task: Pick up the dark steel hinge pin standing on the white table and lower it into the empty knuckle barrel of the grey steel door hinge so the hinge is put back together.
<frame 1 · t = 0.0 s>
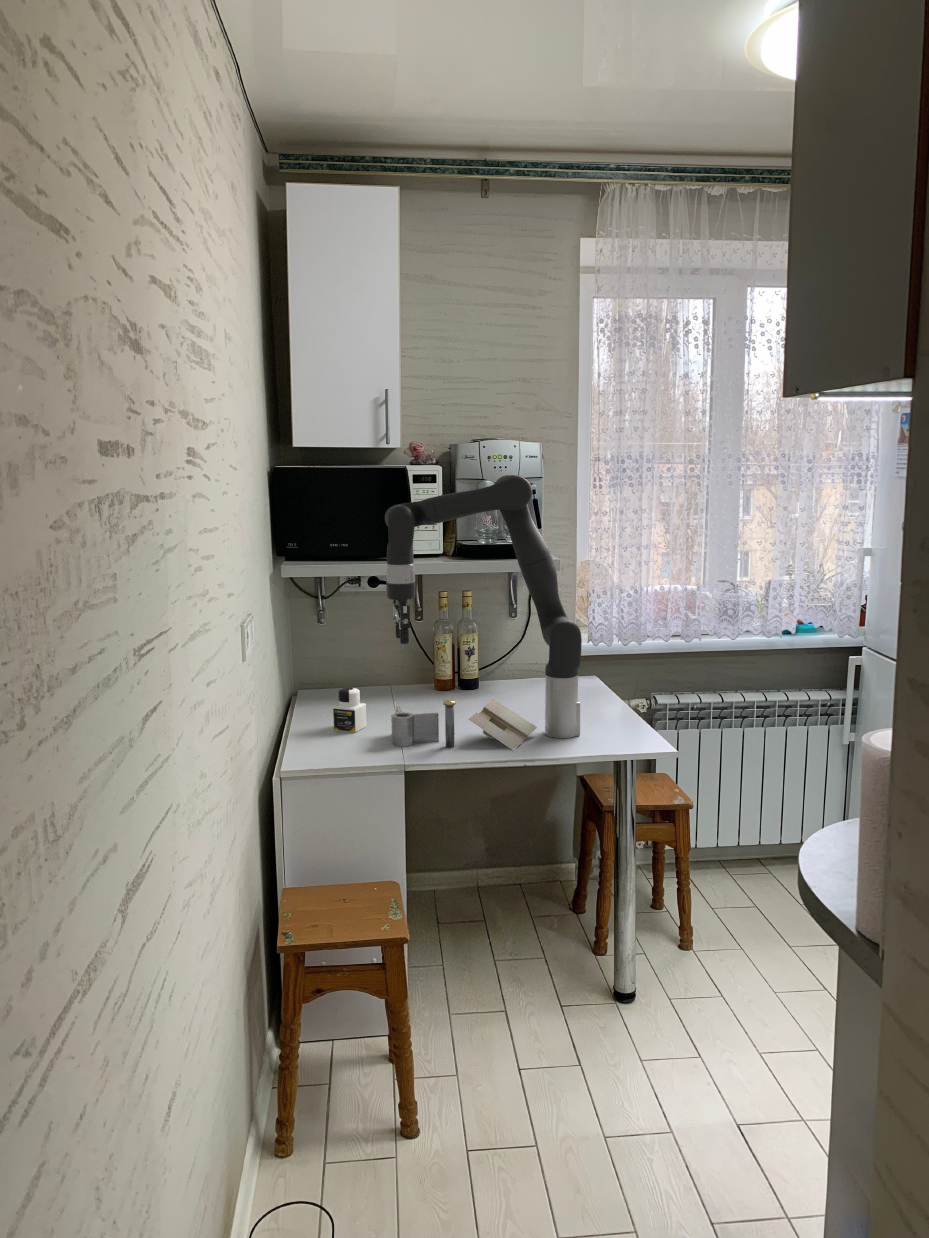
hand: (402, 640, 246), 29 cm above the table, tool pointing down, fingers open, 8 cm apart
hinge: (403, 743, 252), on the table
beige folded piece: (504, 740, 255), on the table
pin: (450, 746, 249), on the table
medicine bottle: (350, 729, 267), on the table
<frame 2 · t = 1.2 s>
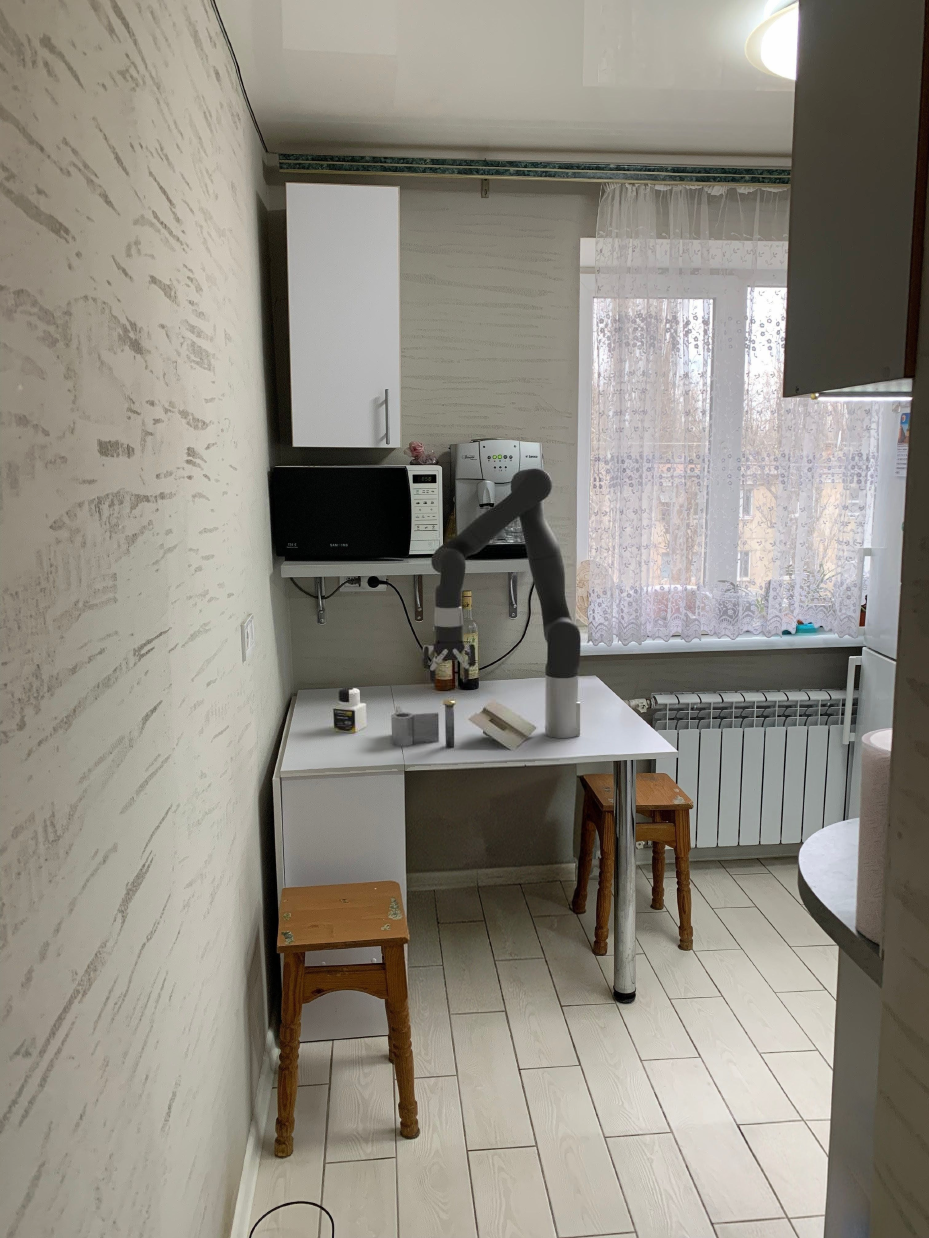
hand: (449, 682, 246), 18 cm above the table, tool pointing down, fingers open, 8 cm apart
nothing on the table moved.
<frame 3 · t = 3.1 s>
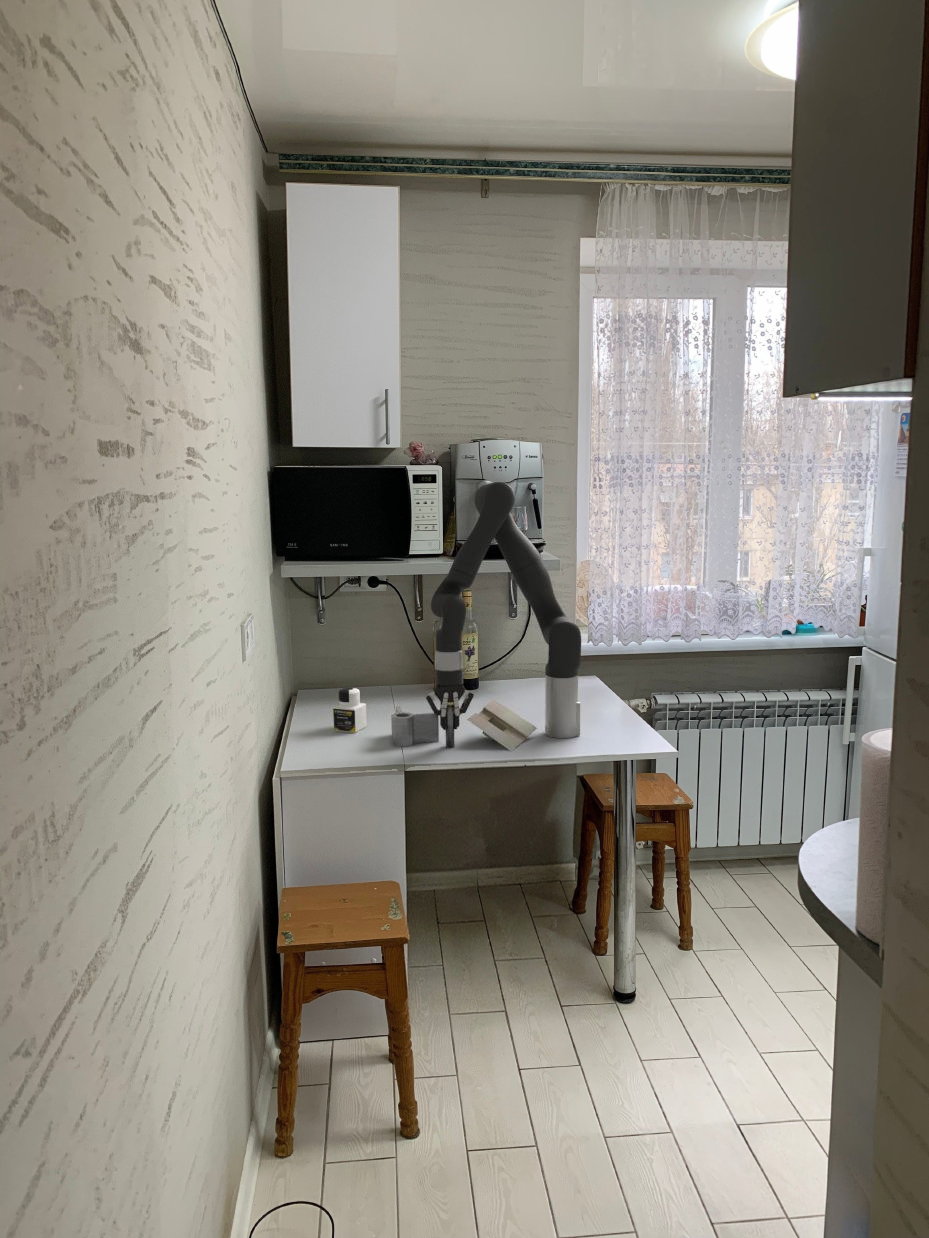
hand: (449, 728, 248), 5 cm above the table, tool pointing down, fingers closed on pin, 2 cm apart
pin: (450, 746, 249), on the table, touching gripper
everything else where it was.
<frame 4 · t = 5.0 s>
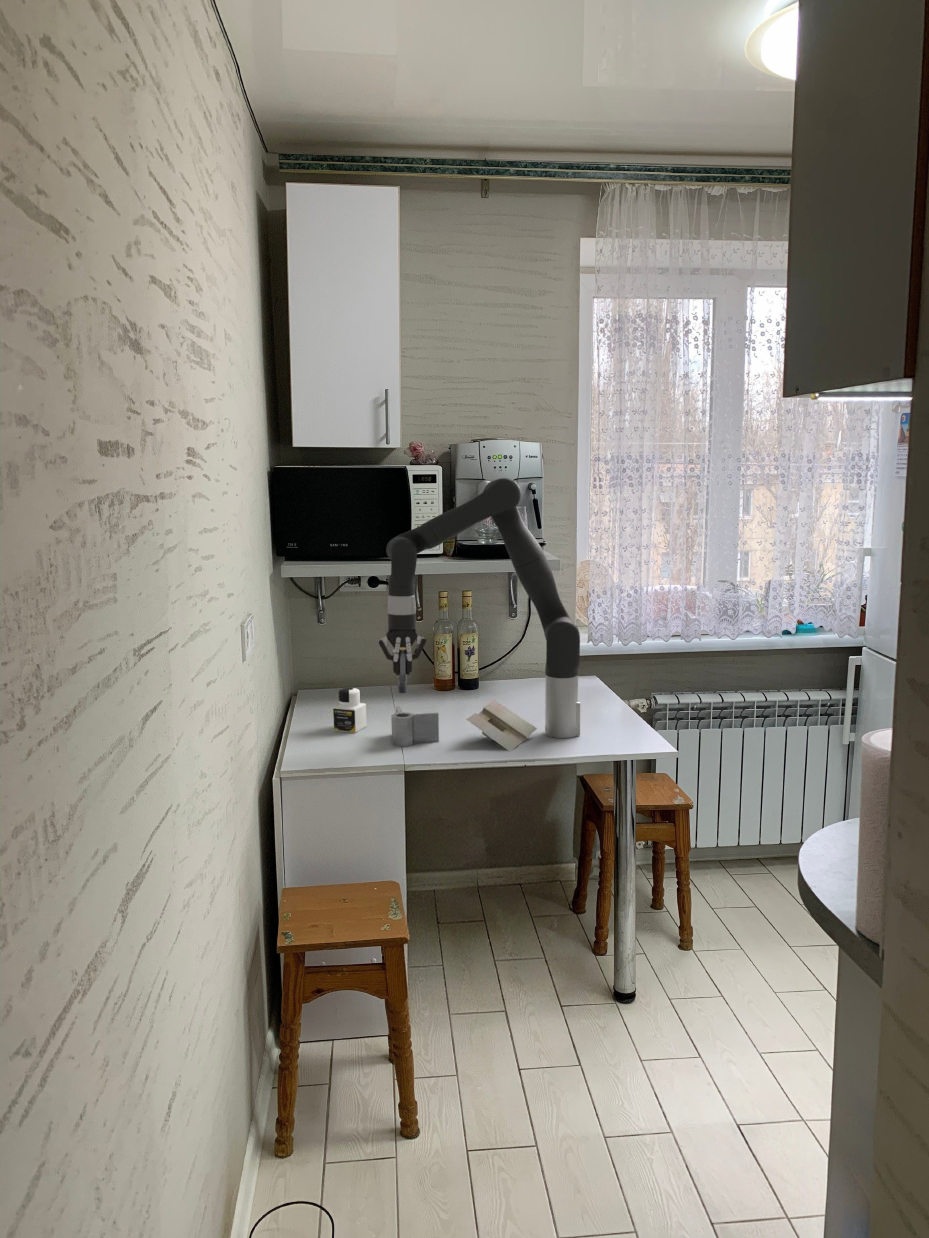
hand: (402, 673, 249), 20 cm above the table, tool pointing down, fingers closed on pin, 2 cm apart
pin: (402, 692, 250), point 15 cm above the table, touching gripper
everything else where it was.
when the fingers open (9 cm above the table, at t = 7.1 s): pin drops 4 cm, resting in hinge.
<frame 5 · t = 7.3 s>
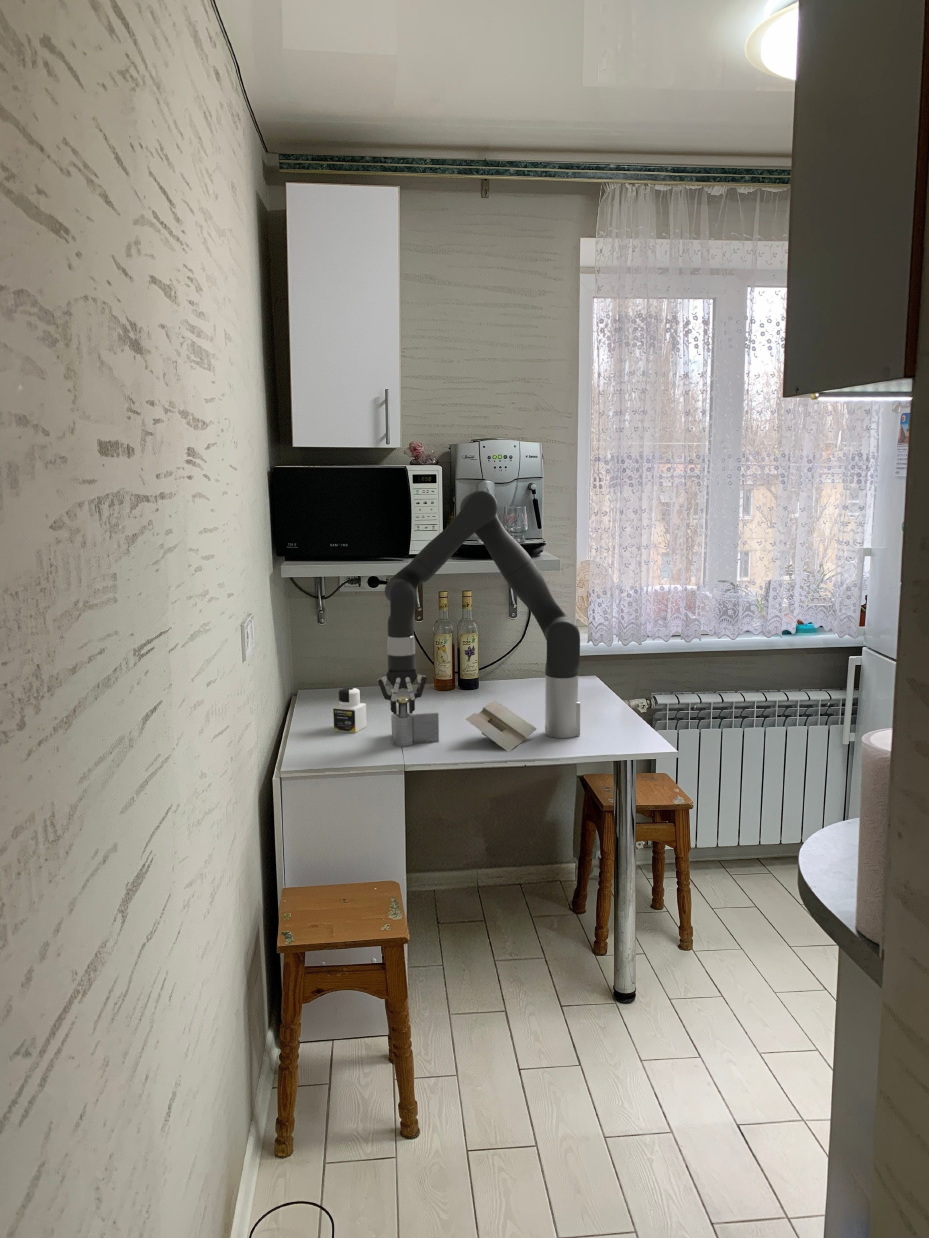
hand: (402, 712, 251), 9 cm above the table, tool pointing down, fingers open, 4 cm apart
pin: (403, 743, 253), resting in hinge
everything else where it was.
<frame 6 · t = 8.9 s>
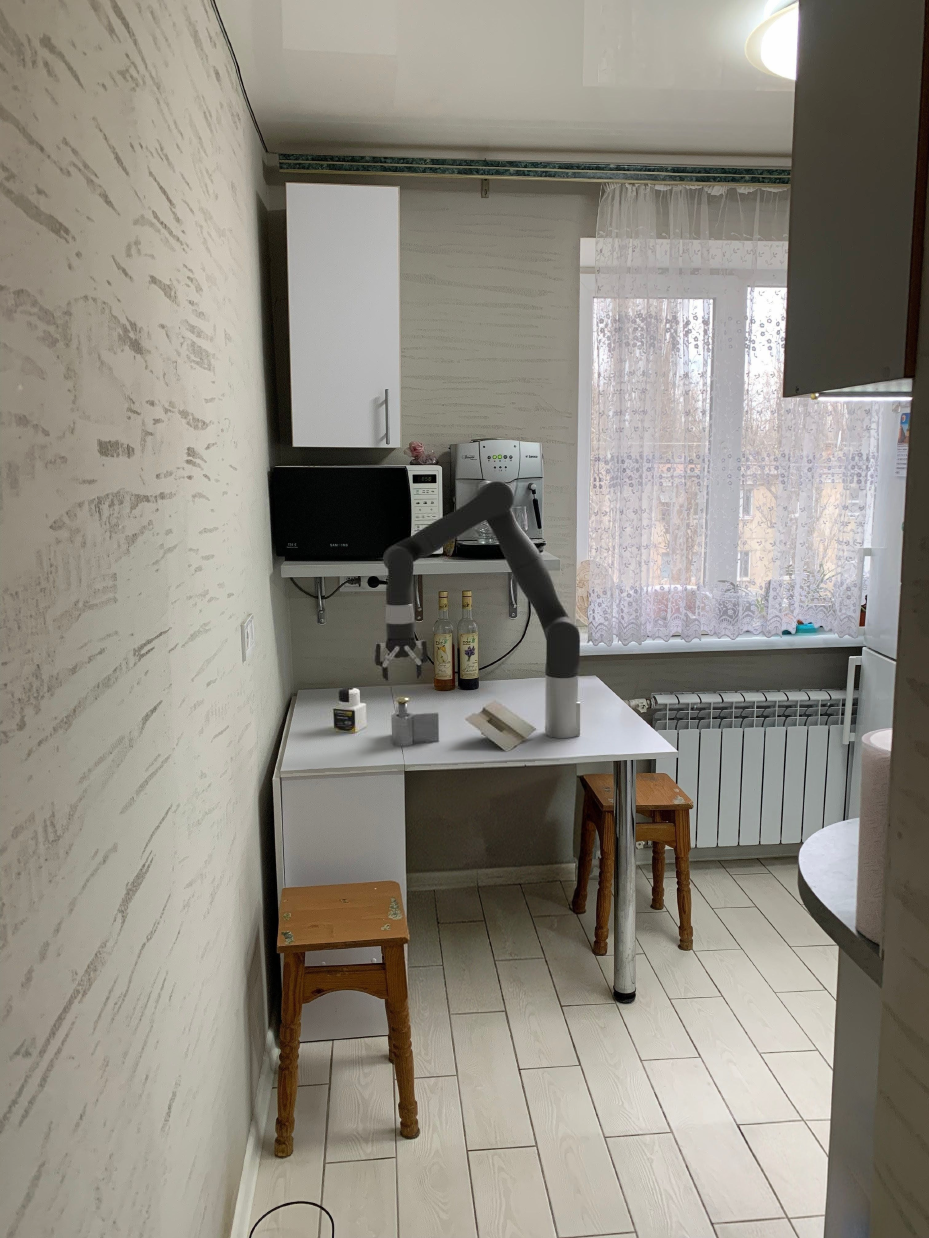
hand: (401, 678, 249), 18 cm above the table, tool pointing down, fingers open, 8 cm apart
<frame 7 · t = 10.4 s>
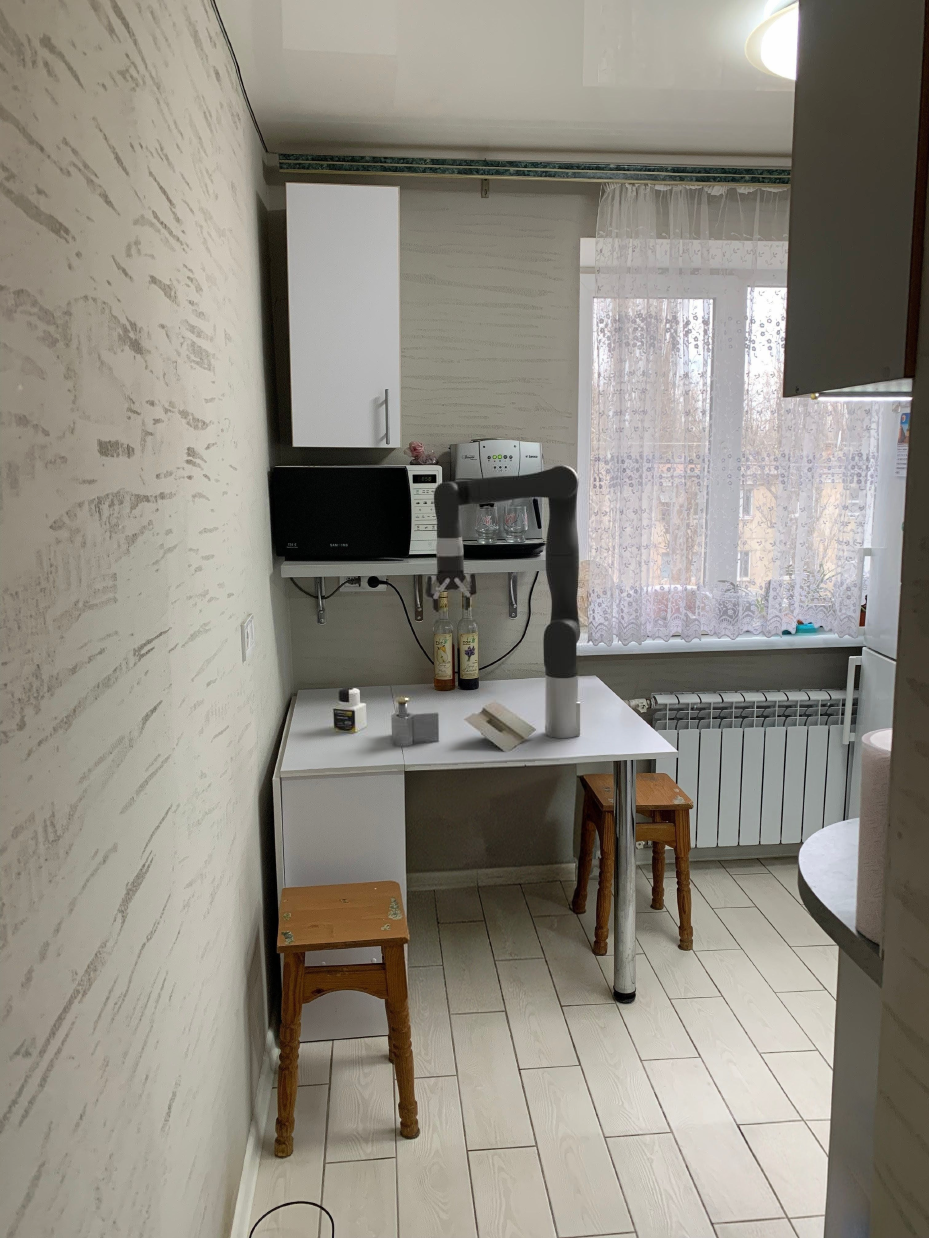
hand: (451, 610, 259), 35 cm above the table, tool pointing down, fingers open, 8 cm apart
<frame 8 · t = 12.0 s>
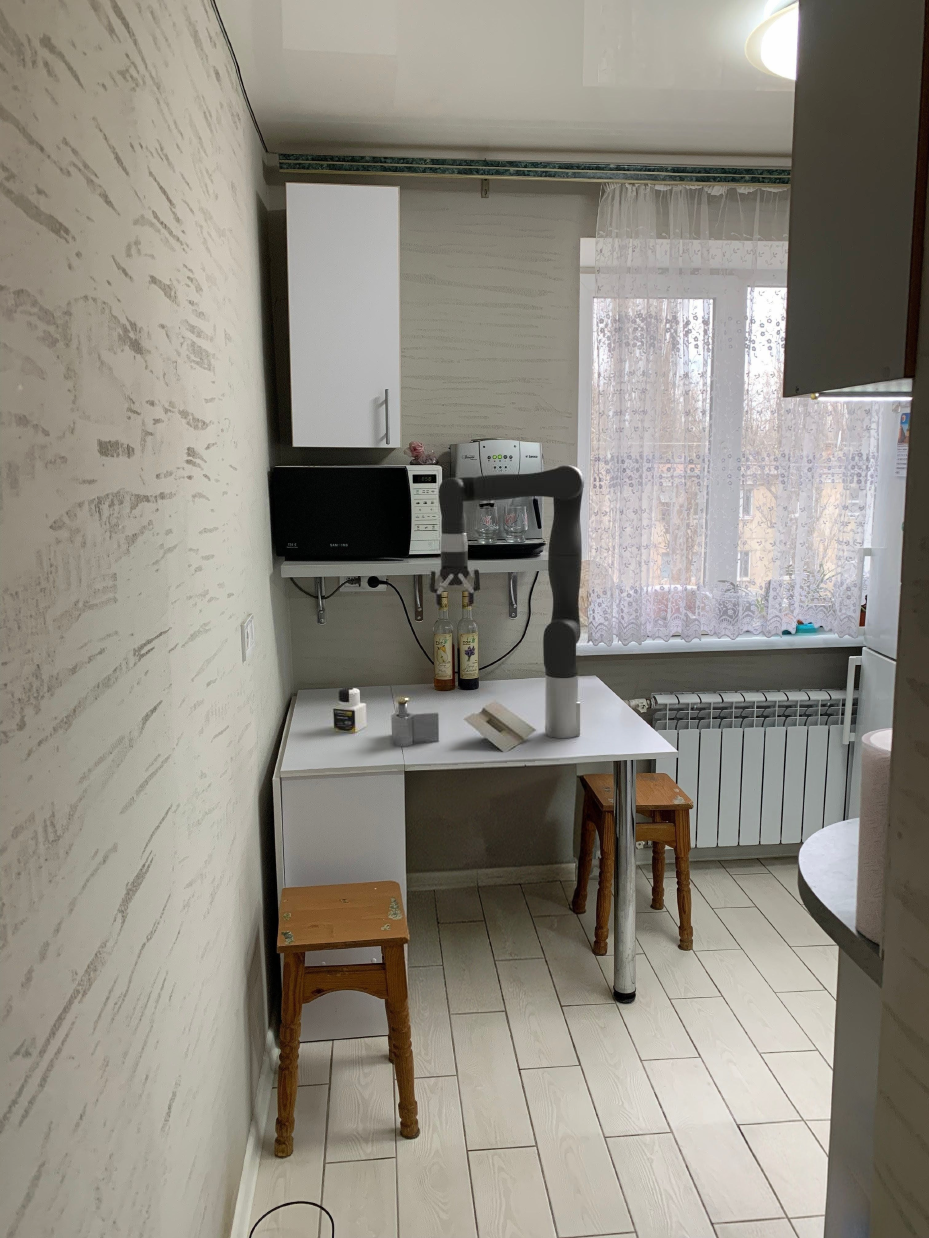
hand: (454, 606, 260), 36 cm above the table, tool pointing down, fingers open, 8 cm apart
at the end: pin 0.1 cm off-centre on the hinge, point 0.0 cm above the hinge's base; pin tilted 0°; the gripper is holding nothing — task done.
